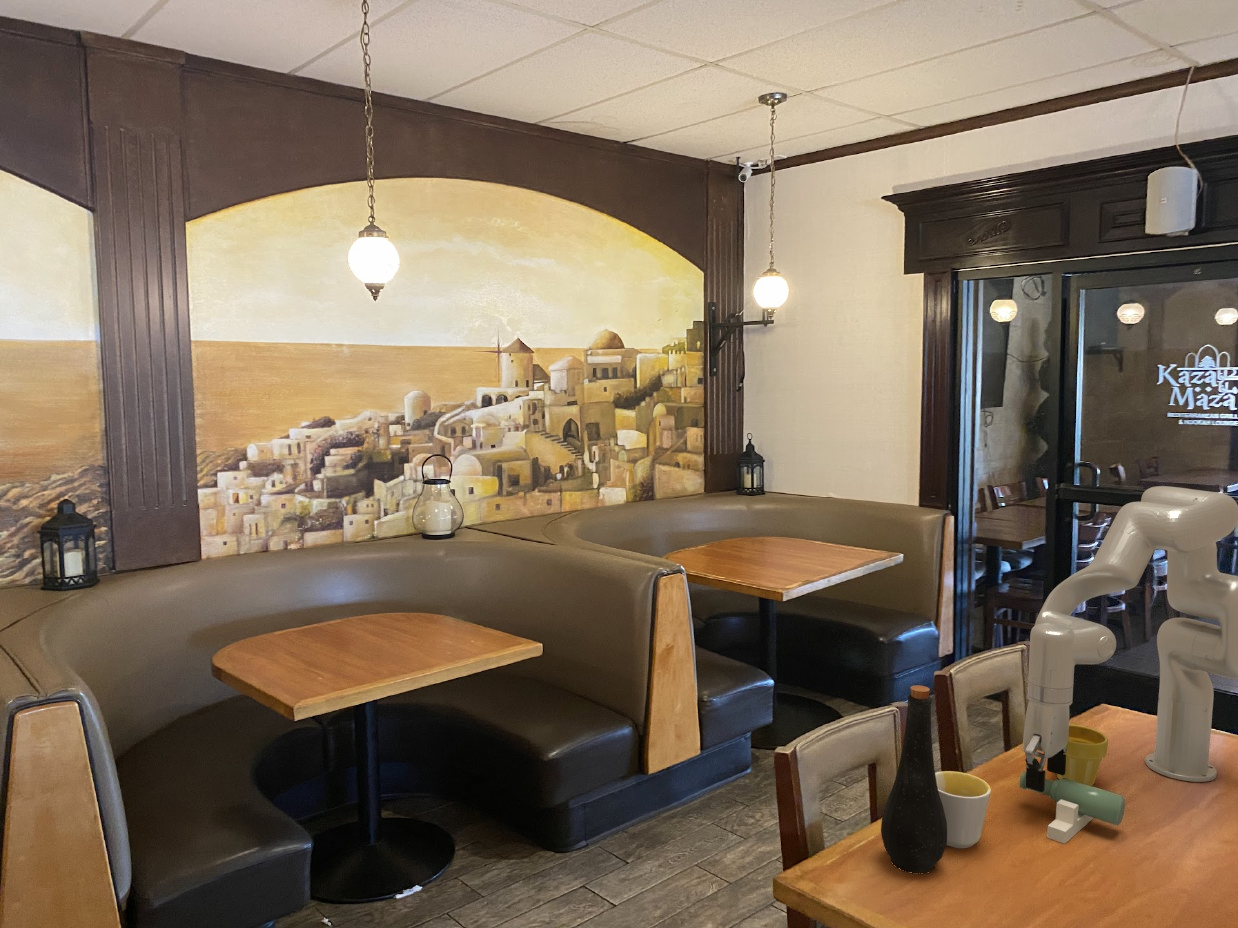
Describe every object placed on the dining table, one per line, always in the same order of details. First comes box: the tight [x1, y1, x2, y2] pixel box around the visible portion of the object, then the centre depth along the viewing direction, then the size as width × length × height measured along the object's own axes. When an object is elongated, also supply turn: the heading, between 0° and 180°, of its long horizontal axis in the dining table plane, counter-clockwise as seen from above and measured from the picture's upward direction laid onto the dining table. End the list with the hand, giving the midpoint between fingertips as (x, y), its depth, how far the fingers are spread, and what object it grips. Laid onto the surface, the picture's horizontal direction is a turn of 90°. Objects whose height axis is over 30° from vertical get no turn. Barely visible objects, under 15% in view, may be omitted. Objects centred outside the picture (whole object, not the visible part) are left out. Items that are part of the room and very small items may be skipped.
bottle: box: [880, 684, 947, 875], centre depth 155 cm, size 11×11×30 cm
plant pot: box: [1056, 723, 1109, 787], centre depth 188 cm, size 10×10×10 cm
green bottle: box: [1018, 770, 1126, 826], centre depth 171 cm, size 5×5×17 cm
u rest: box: [1046, 799, 1094, 845], centre depth 170 cm, size 18×3×5 cm, turn 134°
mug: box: [935, 770, 992, 849], centre depth 164 cm, size 14×10×10 cm
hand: (1045, 780), depth 174 cm, fingers open, 9 cm apart
